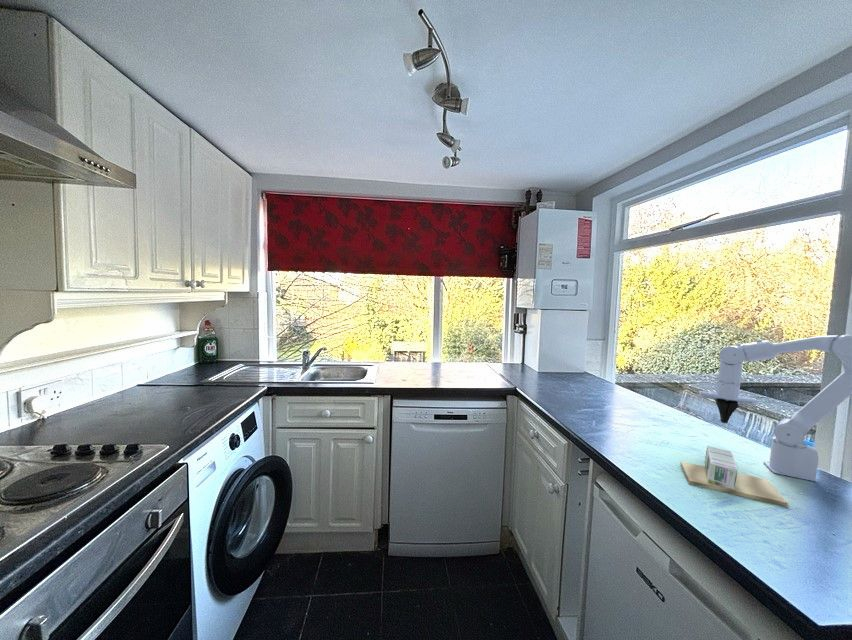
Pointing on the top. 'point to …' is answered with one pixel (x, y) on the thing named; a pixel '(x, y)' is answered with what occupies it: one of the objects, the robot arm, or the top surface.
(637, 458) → the top surface
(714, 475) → the syrup box
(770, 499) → the bamboo board
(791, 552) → the top surface
